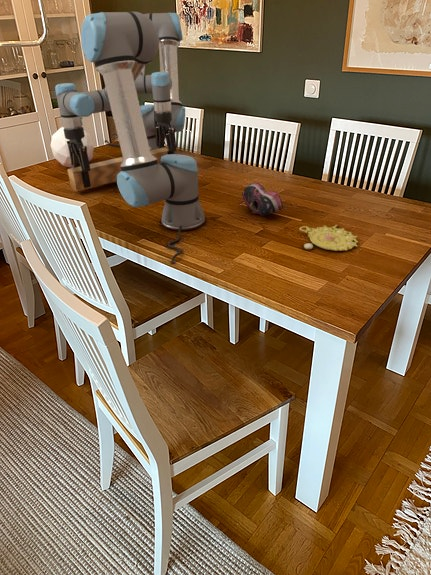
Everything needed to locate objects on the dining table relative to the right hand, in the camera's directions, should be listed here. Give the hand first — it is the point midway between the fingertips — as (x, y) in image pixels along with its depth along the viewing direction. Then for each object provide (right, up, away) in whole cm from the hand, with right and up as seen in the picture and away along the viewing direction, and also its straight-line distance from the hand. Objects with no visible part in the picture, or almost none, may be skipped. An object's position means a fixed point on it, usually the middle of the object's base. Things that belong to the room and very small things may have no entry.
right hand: (84, 185), depth 184 cm
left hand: (+32, +15, +22) cm, 42 cm away
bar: (+16, +7, +11) cm, 21 cm away
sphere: (-13, +16, +31) cm, 37 cm away
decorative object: (+91, -27, -42) cm, 104 cm away
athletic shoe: (+70, -14, -21) cm, 75 cm away
